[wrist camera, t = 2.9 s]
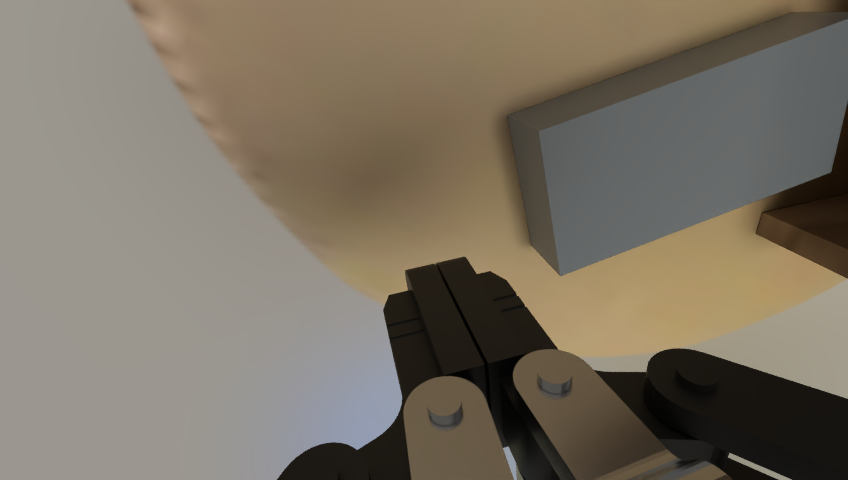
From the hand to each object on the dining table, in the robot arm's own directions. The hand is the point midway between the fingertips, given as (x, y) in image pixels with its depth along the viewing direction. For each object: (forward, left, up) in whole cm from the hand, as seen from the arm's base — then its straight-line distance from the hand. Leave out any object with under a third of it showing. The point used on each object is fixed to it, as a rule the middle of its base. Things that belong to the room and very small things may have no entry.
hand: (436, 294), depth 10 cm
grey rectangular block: (0, +11, -7) cm, 13 cm away
